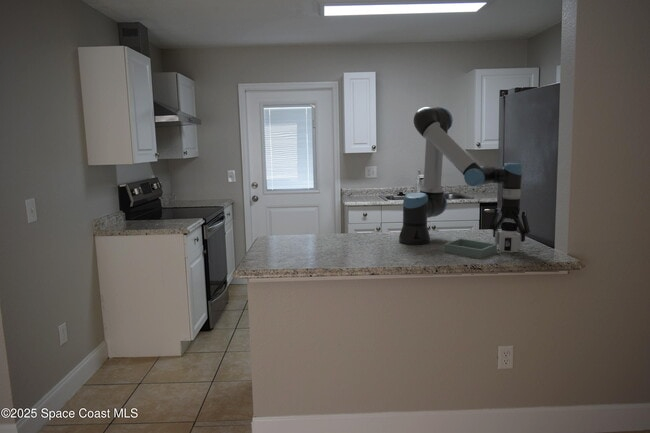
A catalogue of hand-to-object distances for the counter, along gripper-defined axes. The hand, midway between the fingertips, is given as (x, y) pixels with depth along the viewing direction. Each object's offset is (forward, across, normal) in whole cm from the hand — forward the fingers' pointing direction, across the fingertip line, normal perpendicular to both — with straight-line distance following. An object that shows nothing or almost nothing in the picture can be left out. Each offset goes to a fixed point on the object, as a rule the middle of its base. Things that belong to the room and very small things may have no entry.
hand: (508, 246), depth 226 cm
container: (+2, 0, 0) cm, 2 cm away
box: (+2, -12, -13) cm, 18 cm away
